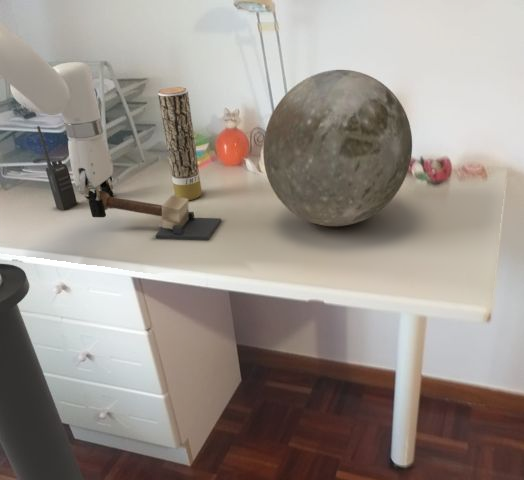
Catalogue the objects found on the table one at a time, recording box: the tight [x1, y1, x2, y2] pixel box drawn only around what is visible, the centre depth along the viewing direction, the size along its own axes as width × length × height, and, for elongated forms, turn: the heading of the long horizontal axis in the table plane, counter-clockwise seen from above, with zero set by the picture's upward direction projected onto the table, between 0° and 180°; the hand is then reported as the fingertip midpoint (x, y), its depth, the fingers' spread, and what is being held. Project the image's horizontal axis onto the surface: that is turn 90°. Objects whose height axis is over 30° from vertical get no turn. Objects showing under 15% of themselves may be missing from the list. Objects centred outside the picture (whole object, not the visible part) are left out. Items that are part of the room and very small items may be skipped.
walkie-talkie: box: [36, 125, 78, 211], centre depth 139 cm, size 5×3×20 cm
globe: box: [262, 69, 413, 227], centre depth 116 cm, size 30×30×30 cm
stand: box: [155, 211, 222, 241], centre depth 126 cm, size 12×10×2 cm
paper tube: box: [157, 86, 203, 201], centre depth 137 cm, size 7×7×25 cm
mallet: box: [99, 190, 190, 229], centre depth 126 cm, size 22×6×5 cm, turn 77°
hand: (104, 211), depth 129 cm, fingers closed on mallet, 4 cm apart
